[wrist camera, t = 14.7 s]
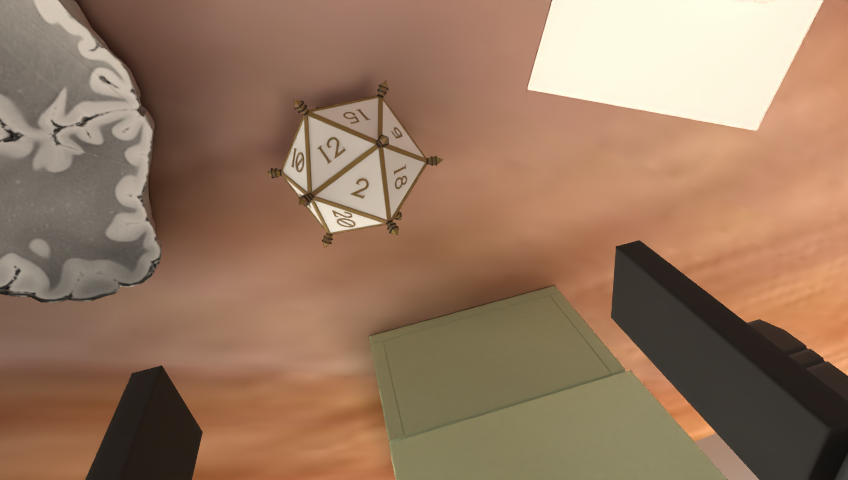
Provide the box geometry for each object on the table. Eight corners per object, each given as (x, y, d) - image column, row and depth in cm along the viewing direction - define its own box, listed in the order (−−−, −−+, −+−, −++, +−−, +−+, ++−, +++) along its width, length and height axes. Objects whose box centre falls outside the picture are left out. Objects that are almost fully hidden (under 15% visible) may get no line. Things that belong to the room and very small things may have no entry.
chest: (556, 417, 48) (611, 512, 39) (404, 464, 46) (428, 575, 37) (555, 285, 39) (625, 369, 31) (368, 335, 37) (388, 441, 29)
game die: (368, 143, 34) (441, 252, 30) (250, 174, 30) (317, 304, 26) (390, 31, 26) (490, 157, 23) (238, 53, 23) (328, 209, 19)
